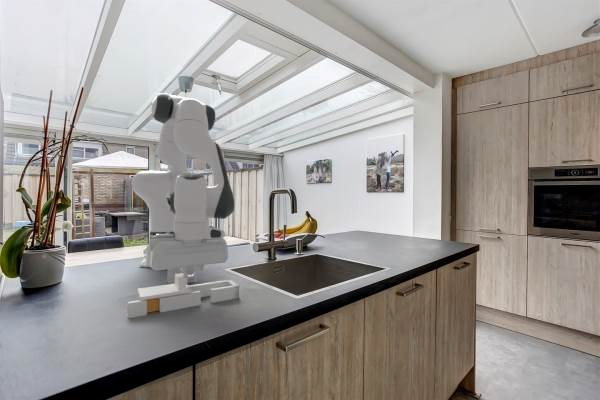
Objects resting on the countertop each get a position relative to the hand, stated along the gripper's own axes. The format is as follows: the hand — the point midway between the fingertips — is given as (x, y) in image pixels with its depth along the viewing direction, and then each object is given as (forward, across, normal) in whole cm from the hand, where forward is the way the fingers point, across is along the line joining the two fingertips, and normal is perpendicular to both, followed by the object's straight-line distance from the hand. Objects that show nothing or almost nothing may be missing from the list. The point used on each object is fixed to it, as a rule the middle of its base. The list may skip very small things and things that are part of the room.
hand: (190, 282), depth 84 cm
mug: (+6, +4, +22) cm, 23 cm away
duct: (+6, -1, 0) cm, 6 cm away
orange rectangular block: (+6, -9, 0) cm, 11 cm away
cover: (+2, -7, 0) cm, 7 cm away
